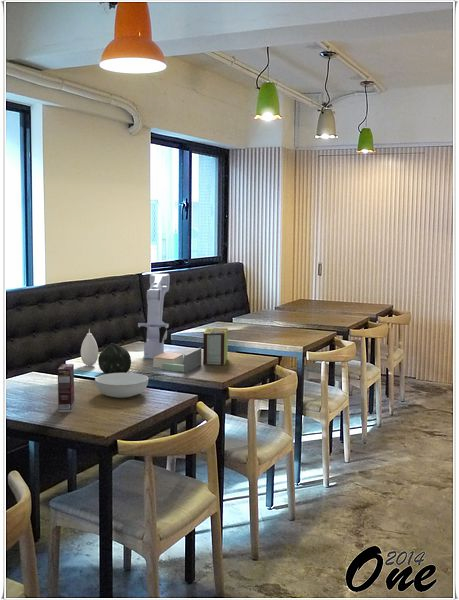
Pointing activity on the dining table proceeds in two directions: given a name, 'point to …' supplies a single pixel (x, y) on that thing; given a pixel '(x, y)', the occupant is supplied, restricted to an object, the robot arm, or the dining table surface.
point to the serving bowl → (121, 384)
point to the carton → (167, 359)
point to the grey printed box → (186, 362)
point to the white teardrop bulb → (89, 350)
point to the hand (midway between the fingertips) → (152, 342)
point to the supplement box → (66, 388)
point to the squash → (114, 359)
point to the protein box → (215, 346)
